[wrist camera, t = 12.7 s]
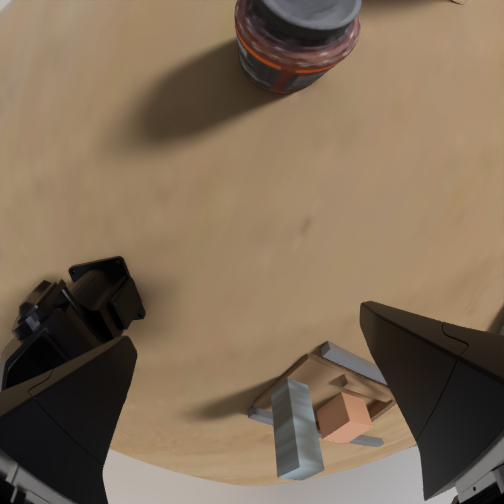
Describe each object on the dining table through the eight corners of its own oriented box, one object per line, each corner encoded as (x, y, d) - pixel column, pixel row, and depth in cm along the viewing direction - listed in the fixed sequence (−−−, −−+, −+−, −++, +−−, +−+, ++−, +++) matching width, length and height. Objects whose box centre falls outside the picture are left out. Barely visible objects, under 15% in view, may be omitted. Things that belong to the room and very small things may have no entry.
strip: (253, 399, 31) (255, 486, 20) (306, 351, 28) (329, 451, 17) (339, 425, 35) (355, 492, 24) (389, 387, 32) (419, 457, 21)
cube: (316, 411, 31) (322, 439, 27) (341, 391, 30) (350, 420, 26) (339, 417, 32) (346, 443, 28) (363, 399, 31) (373, 426, 27)
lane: (248, 410, 32) (248, 417, 31) (327, 341, 27) (330, 348, 26) (377, 442, 38) (378, 447, 37) (440, 395, 34) (442, 400, 33)
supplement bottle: (335, 55, 17) (410, 1, 6) (290, 110, 19) (339, 86, 8) (269, 12, 15) (288, -75, 5) (222, 66, 17) (197, 1, 7)
